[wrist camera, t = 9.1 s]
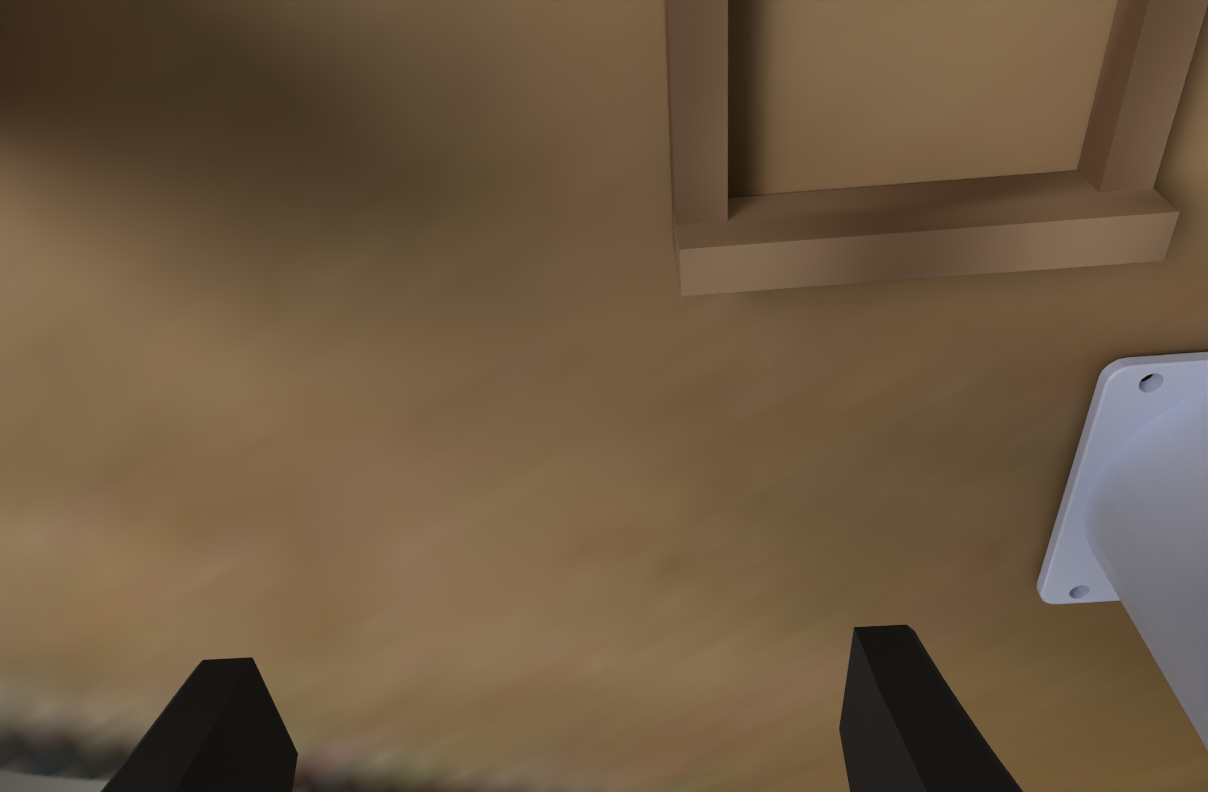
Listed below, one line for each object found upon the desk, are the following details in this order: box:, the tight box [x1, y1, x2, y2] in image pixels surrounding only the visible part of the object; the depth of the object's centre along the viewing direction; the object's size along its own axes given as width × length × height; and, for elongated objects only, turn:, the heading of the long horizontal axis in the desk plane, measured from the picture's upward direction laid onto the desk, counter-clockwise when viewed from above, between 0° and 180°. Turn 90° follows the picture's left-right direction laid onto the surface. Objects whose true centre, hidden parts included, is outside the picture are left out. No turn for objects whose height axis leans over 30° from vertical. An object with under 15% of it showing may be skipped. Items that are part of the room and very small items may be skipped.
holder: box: [664, 0, 1208, 296], centre depth 16 cm, size 9×9×2 cm
